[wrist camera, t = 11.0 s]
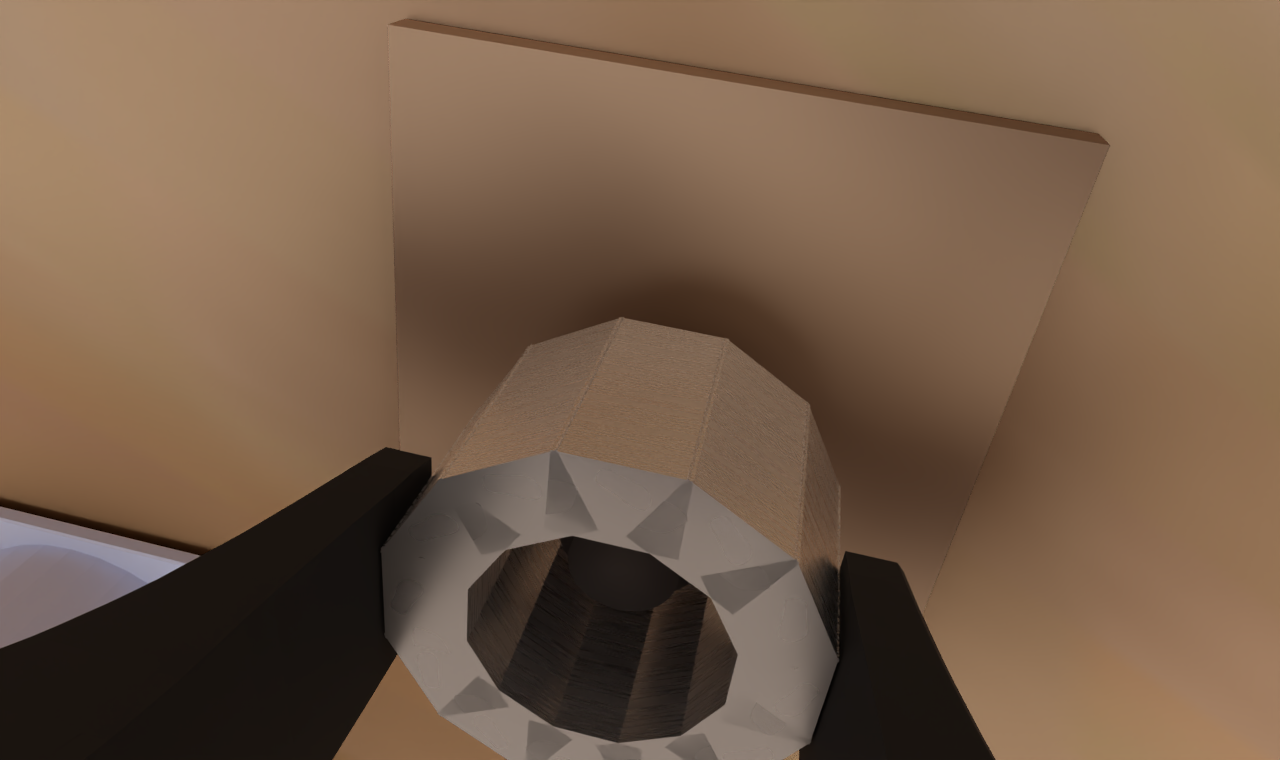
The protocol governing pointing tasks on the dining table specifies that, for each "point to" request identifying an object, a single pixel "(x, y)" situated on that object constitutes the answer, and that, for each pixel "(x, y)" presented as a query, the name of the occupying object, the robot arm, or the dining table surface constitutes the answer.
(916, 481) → the shaft stand
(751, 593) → the tube
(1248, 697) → the dining table surface
